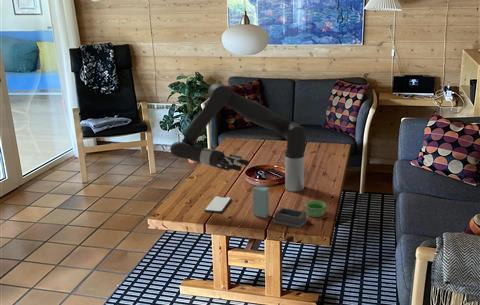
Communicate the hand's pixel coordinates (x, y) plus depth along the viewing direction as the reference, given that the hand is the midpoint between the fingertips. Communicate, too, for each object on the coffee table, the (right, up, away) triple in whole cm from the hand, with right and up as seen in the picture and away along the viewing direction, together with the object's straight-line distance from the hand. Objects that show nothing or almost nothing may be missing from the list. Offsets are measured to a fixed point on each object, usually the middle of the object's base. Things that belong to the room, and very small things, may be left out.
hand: (244, 166), depth 229 cm
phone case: (-12, -19, +14) cm, 27 cm away
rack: (+20, -24, -4) cm, 31 cm away
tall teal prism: (+7, -22, +2) cm, 23 cm away
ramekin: (+32, -21, +3) cm, 38 cm away
